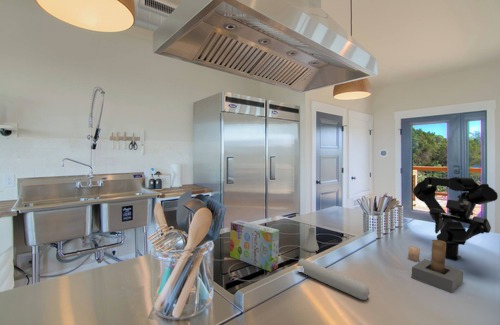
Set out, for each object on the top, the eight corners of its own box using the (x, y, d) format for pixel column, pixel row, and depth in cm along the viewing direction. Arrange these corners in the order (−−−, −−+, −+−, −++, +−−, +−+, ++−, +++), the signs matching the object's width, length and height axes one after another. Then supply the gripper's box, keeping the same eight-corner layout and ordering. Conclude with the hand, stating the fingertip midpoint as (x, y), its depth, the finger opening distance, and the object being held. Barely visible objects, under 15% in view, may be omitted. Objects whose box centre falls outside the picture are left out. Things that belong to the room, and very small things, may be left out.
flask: (306, 245, 123) (307, 224, 122) (321, 249, 118) (322, 227, 118) (300, 249, 117) (301, 228, 116) (315, 254, 113) (316, 231, 112)
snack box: (278, 267, 99) (280, 229, 98) (270, 272, 95) (272, 233, 94) (237, 252, 112) (238, 218, 111) (228, 256, 108) (229, 221, 107)
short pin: (410, 256, 112) (410, 245, 112) (420, 260, 109) (421, 248, 108) (406, 259, 109) (407, 247, 109) (416, 262, 106) (417, 250, 106)
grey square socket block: (424, 268, 101) (424, 258, 100) (462, 281, 91) (463, 271, 91) (411, 277, 93) (412, 266, 93) (451, 292, 84) (452, 281, 84)
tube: (373, 285, 81) (306, 258, 98) (367, 285, 77) (298, 257, 95) (370, 302, 80) (303, 272, 98) (364, 304, 76) (295, 272, 94)
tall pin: (432, 275, 95) (434, 238, 94) (445, 280, 92) (447, 242, 91) (428, 279, 93) (430, 241, 92) (441, 283, 89) (444, 244, 89)
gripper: (432, 188, 108) (416, 217, 104) (489, 196, 92) (473, 231, 87) (441, 205, 113) (425, 233, 108) (497, 216, 96) (482, 249, 92)
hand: (449, 236), depth 99 cm, fingers open, 9 cm apart
